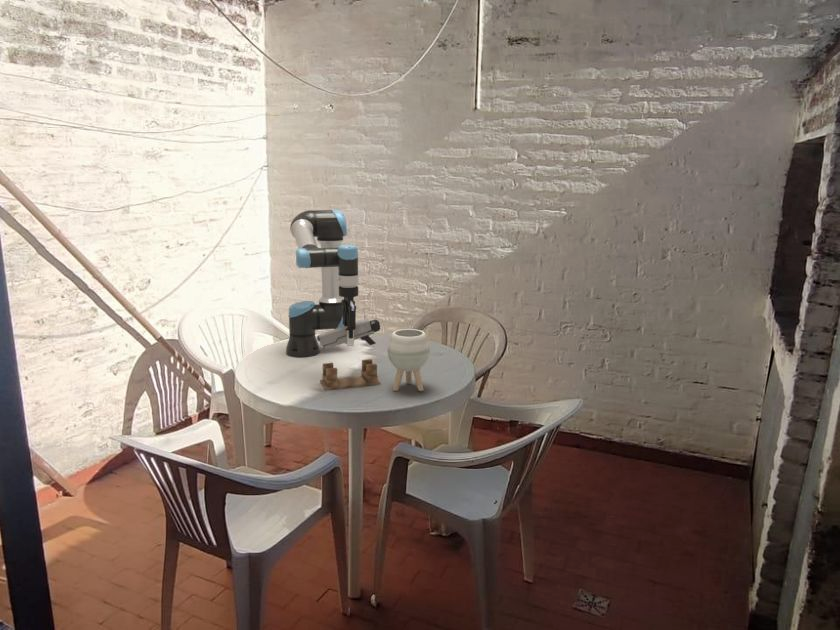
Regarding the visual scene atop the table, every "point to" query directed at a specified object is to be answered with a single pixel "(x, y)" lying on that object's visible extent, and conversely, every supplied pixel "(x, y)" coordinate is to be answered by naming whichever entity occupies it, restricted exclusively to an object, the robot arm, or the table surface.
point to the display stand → (365, 379)
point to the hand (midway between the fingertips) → (349, 344)
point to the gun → (340, 334)
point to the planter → (408, 355)
